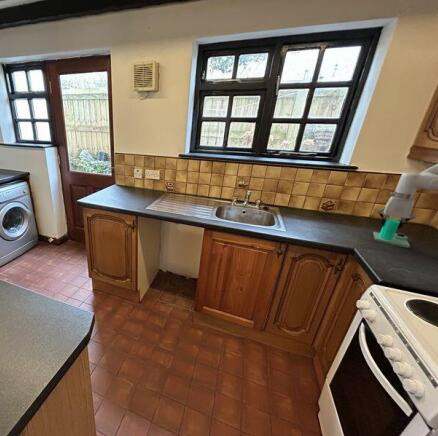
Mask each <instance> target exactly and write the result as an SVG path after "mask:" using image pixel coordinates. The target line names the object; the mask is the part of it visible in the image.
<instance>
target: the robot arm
mask: <svg viewBox="0 0 438 436" xmlns="http://www.w3.org/2000/svg"><path fill="white" fill-rule="evenodd" d="M418 189H423V190H427V191H435V190H438V163H437V164H435V165H432V166H430V167H428V168H427V169H424V170H423V171H421V172H419V173H418V172H412V171H411V172H410V171H408V172H403V173H401V176H400V177H399V180H398V183H397V185H396V188H395V190H394V191H391V192H389V195H391V196H390V198H389V199H388V201H387V202H386V204H385V206H384V207H382V208H380V209H377V210H376V213H377V214H378V215H379V216H380V217H381V219H380V220H381V221H380V222H379V223H380V225H381V227H383V226H384V224H385V221H386V219H388V217H393V218H400V220H399V221H400V224H399V226H398V228H397V230H400V229H401V228H403V227H404V226H403V225H404V224H405V223H406V222H409V221H411V220H414V219H416V216H415V214H414V213H413V212H412V211H413V208H414V206H415V205H414V203H415V199H414V197H415V194H416V192H417V190H418ZM382 212H383V213H382Z"/></svg>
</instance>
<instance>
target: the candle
mask: <svg viewBox="0 0 438 436" xmlns="http://www.w3.org/2000/svg"><path fill="white" fill-rule="evenodd" d="M400 221H401V220H398V219H395V218H386V221H385V224H384V226H381V230H380V232H379V233H380V234H379V237H381V238H383V239H388V240H392V239H393V237H394V235H395V234H397V233H396V232H397V230H398V226H399V224H400Z"/></svg>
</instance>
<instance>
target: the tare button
mask: <svg viewBox="0 0 438 436" xmlns="http://www.w3.org/2000/svg"><path fill="white" fill-rule="evenodd" d="M396 234H397V236H400V237H404V236H406V233H404V232H397V233H396Z"/></svg>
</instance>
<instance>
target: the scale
mask: <svg viewBox="0 0 438 436" xmlns="http://www.w3.org/2000/svg"><path fill="white" fill-rule="evenodd" d="M372 234H373V239H374V241H376V242H381V243H385V244H387V245H388V244H389V245H393V246H398V247H402V248H407V249H410V248H411V244H410V243H409V242H408V239H409V237H408V236H406V235H405V236H404V237H400V236H397V234H398V233H395V235H394V237H393V239H392V240H388V239H383V238H381V237H379V234H380V232H377V231H373V232H372Z"/></svg>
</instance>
